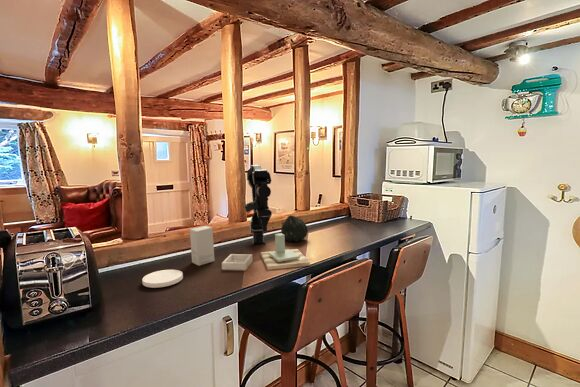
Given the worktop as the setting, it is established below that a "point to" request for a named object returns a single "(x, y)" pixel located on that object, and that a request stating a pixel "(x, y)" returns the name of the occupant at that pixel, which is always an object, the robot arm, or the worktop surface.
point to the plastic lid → (162, 278)
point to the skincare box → (202, 245)
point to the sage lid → (282, 250)
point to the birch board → (274, 264)
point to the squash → (294, 229)
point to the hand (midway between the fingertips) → (262, 227)
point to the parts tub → (237, 262)
